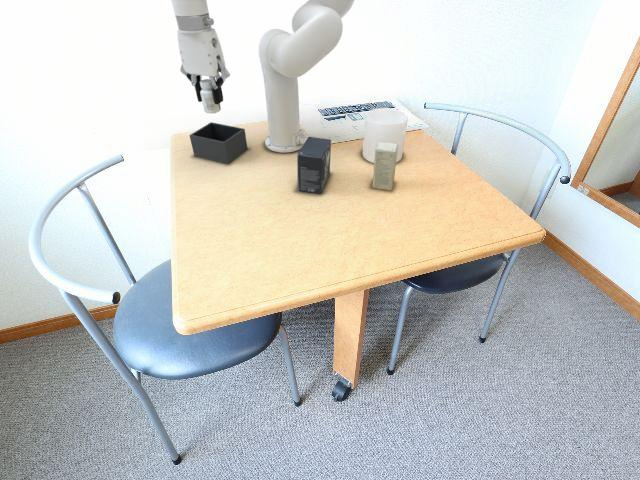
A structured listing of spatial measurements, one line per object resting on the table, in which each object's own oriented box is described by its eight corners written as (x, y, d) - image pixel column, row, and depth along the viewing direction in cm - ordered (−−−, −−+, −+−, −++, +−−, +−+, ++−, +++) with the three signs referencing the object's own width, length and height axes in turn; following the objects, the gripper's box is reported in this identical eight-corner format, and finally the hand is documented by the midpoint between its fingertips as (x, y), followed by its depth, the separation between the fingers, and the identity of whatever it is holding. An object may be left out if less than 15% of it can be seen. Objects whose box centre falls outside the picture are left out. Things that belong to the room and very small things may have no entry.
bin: (247, 149, 113) (244, 128, 108) (228, 164, 106) (224, 142, 101) (215, 142, 117) (211, 122, 112) (194, 156, 110) (189, 135, 105)
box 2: (394, 182, 98) (399, 144, 91) (390, 191, 95) (396, 151, 87) (374, 179, 99) (378, 141, 92) (371, 187, 96) (374, 148, 89)
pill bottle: (224, 110, 99) (218, 80, 94) (211, 115, 97) (204, 85, 92) (214, 106, 101) (208, 77, 96) (201, 111, 99) (194, 81, 94)
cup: (354, 153, 110) (356, 114, 102) (381, 142, 116) (385, 104, 108) (382, 168, 103) (387, 128, 95) (410, 156, 109) (417, 117, 101)
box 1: (321, 194, 93) (321, 157, 87) (297, 191, 95) (295, 154, 88) (331, 173, 101) (331, 138, 95) (308, 171, 103) (307, 135, 96)
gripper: (233, 21, 86) (245, 100, 98) (175, 17, 91) (193, 93, 103) (215, 28, 80) (230, 110, 92) (154, 24, 85) (176, 102, 97)
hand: (210, 100), depth 97 cm, fingers closed on pill bottle, 4 cm apart
